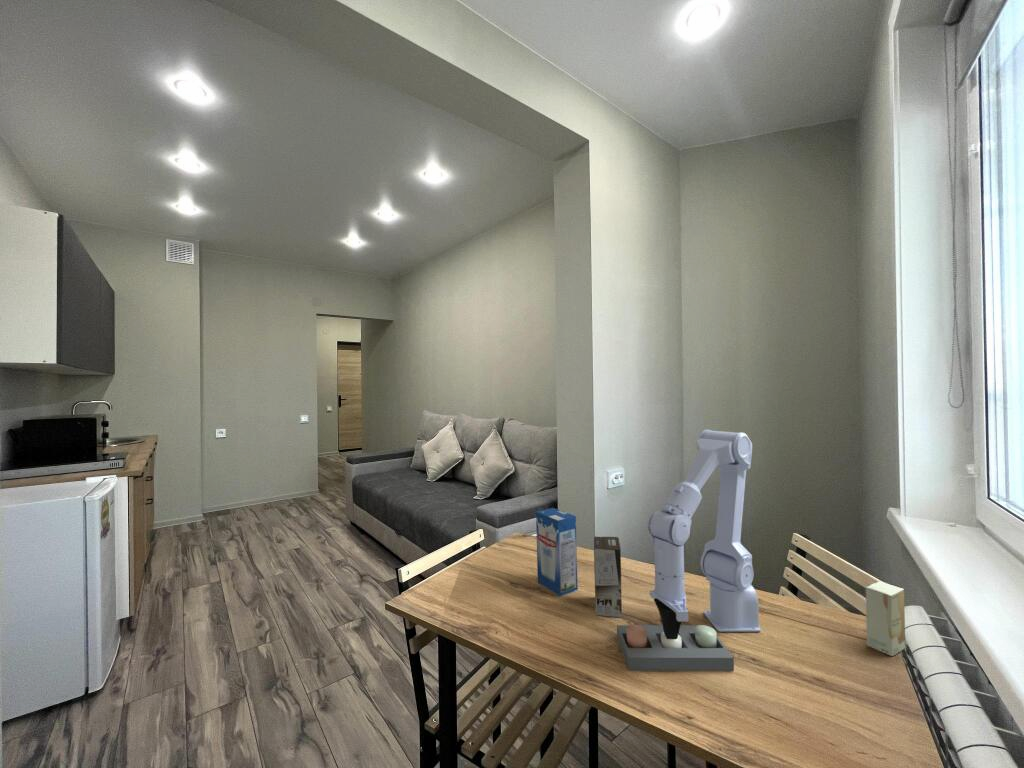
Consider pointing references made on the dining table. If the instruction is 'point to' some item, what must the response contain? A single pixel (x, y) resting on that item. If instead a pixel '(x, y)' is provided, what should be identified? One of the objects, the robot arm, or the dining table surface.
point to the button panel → (674, 652)
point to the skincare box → (885, 618)
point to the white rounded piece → (671, 642)
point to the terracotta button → (636, 637)
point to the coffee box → (607, 576)
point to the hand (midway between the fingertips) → (671, 637)
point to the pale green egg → (705, 637)
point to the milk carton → (556, 551)
